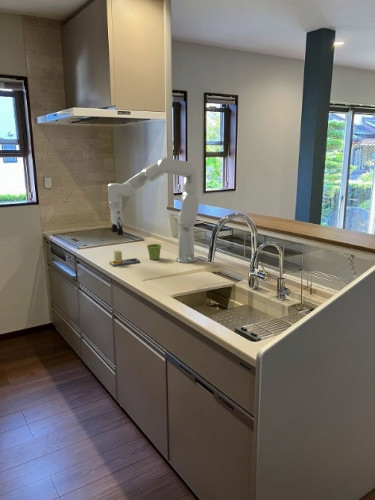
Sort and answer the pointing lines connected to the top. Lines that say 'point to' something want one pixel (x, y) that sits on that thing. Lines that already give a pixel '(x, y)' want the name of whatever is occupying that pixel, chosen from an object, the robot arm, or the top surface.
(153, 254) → the plant pot
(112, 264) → the rail
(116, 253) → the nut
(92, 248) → the top surface
